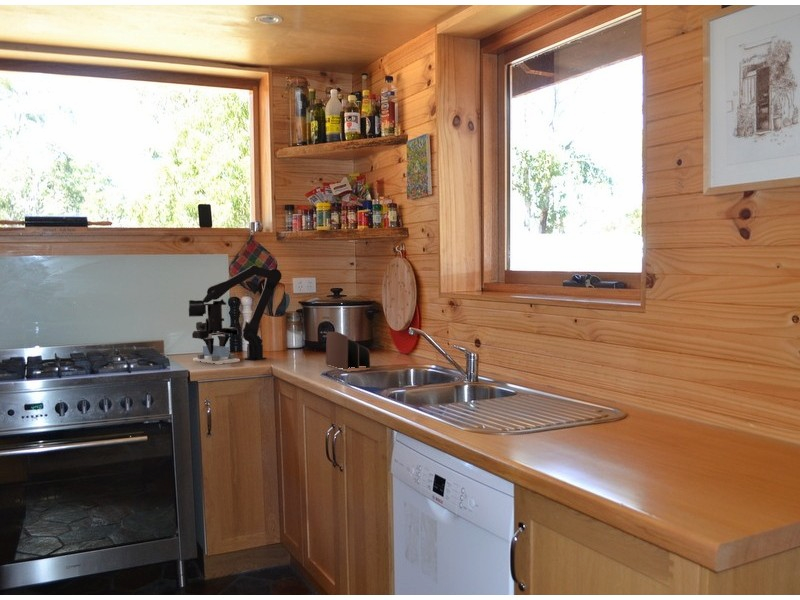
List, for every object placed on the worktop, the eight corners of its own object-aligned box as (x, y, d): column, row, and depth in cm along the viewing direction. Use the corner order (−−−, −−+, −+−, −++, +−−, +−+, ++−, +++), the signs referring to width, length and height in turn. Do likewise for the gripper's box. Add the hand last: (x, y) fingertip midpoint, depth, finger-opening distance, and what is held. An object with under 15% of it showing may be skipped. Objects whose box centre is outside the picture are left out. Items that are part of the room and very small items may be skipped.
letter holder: (346, 373, 263) (345, 334, 262) (325, 365, 281) (324, 330, 280) (370, 370, 268) (370, 333, 267) (349, 363, 285) (348, 328, 285)
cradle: (239, 361, 294) (239, 354, 294) (219, 364, 287) (218, 357, 286) (213, 357, 306) (213, 351, 306) (193, 360, 298) (193, 353, 298)
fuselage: (229, 356, 294) (229, 347, 294) (220, 358, 291) (220, 348, 290) (209, 353, 303) (208, 344, 303) (200, 355, 300) (199, 345, 299)
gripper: (222, 313, 307) (223, 349, 308) (183, 316, 293) (185, 354, 294) (238, 314, 300) (239, 351, 301) (199, 318, 286) (201, 357, 287)
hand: (216, 353), depth 296 cm, fingers closed on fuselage, 4 cm apart
